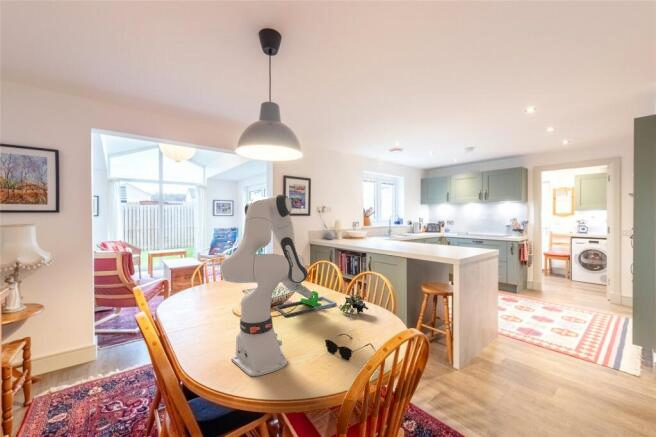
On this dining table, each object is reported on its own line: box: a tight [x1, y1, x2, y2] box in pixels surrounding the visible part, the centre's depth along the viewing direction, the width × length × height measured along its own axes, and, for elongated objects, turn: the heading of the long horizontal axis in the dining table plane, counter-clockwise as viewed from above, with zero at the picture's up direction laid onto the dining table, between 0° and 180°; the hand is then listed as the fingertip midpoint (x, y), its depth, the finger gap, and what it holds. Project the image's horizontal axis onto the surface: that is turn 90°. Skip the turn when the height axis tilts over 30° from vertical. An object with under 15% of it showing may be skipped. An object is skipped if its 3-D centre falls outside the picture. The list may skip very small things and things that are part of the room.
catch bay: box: [312, 295, 337, 311], centre depth 165 cm, size 15×15×2 cm
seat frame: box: [273, 300, 316, 318], centre depth 156 cm, size 16×18×1 cm
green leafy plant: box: [338, 294, 369, 317], centre depth 148 cm, size 13×12×14 cm
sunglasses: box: [324, 333, 374, 362], centre depth 111 cm, size 14×16×5 cm
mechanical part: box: [300, 290, 322, 307], centre depth 163 cm, size 12×6×8 cm, turn 44°
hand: (308, 297), depth 161 cm, fingers closed
